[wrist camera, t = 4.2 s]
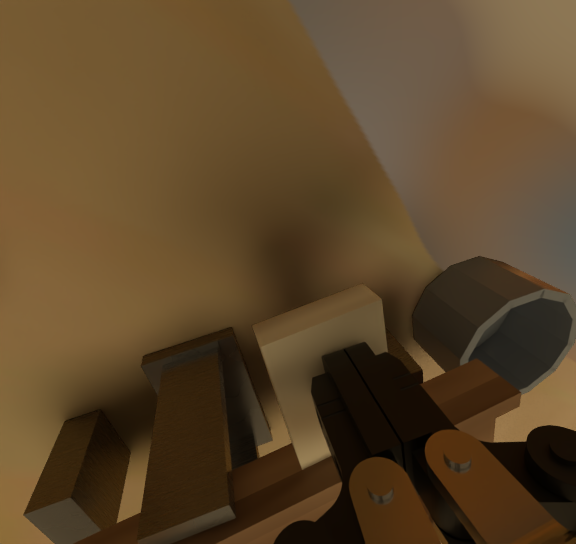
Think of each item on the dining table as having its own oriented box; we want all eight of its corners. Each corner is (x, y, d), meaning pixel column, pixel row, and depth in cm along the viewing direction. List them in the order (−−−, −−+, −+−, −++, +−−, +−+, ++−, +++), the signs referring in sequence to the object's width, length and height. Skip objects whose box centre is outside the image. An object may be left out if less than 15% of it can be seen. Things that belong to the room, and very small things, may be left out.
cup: (410, 279, 20) (460, 318, 16) (517, 243, 21) (590, 272, 17) (415, 368, 24) (458, 419, 20) (508, 334, 25) (567, 376, 21)
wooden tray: (-192, 494, 9) (-461, 770, 5) (482, 237, 12) (614, 284, 9) (58, 653, 14) (19, 840, 10) (472, 442, 18) (550, 524, 14)
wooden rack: (39, 390, 18) (-96, 622, 10) (370, 281, 20) (488, 395, 12) (117, 487, 22) (67, 706, 14) (383, 388, 24) (478, 527, 16)
